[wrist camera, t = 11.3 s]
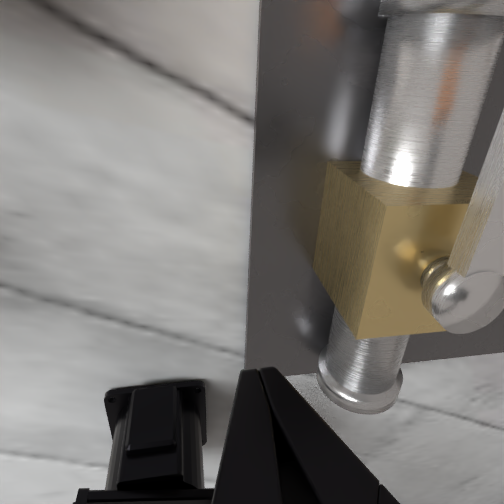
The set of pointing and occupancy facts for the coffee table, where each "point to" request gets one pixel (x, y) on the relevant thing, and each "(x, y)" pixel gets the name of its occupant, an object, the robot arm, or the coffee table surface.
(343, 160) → the pipe on metal plate
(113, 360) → the coffee table surface
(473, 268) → the valve lever
